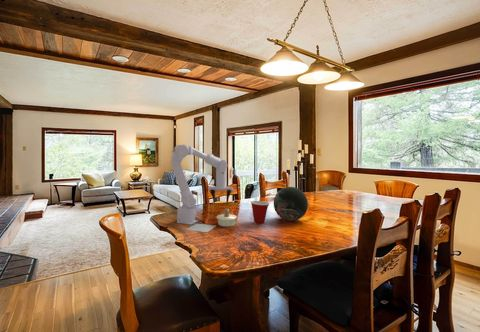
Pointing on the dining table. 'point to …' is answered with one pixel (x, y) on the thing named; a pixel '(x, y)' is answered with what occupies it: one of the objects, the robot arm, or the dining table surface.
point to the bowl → (226, 222)
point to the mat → (201, 227)
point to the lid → (226, 216)
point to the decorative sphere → (290, 203)
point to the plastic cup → (259, 211)
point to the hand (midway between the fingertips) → (220, 202)
